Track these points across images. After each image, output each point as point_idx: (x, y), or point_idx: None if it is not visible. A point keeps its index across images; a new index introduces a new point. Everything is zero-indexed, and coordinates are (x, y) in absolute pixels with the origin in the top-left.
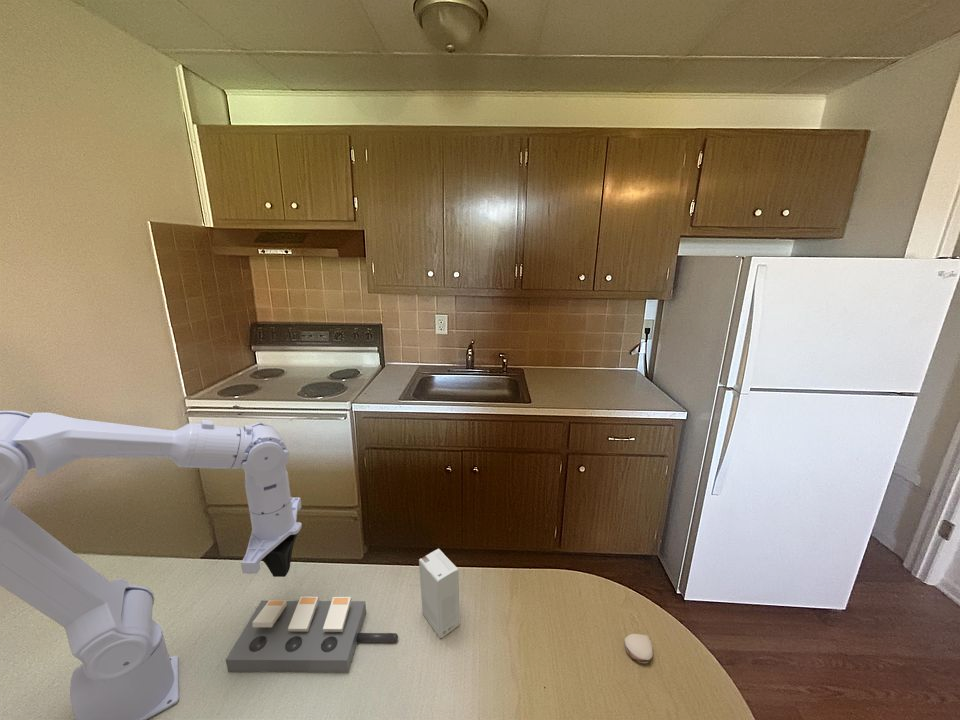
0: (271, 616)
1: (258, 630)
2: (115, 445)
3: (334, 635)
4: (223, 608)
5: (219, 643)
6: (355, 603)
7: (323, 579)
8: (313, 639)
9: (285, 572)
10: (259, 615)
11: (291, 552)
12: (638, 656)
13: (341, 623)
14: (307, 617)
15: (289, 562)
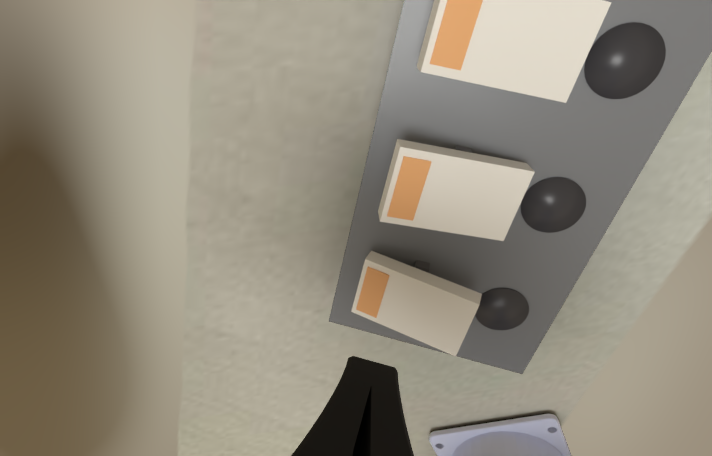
0: (444, 305)
1: None
2: None
3: None
4: (308, 375)
5: (416, 367)
6: None
7: (227, 124)
8: (563, 134)
9: (398, 391)
10: (425, 337)
11: (317, 449)
12: None
13: (581, 7)
14: (484, 177)
15: (353, 403)
